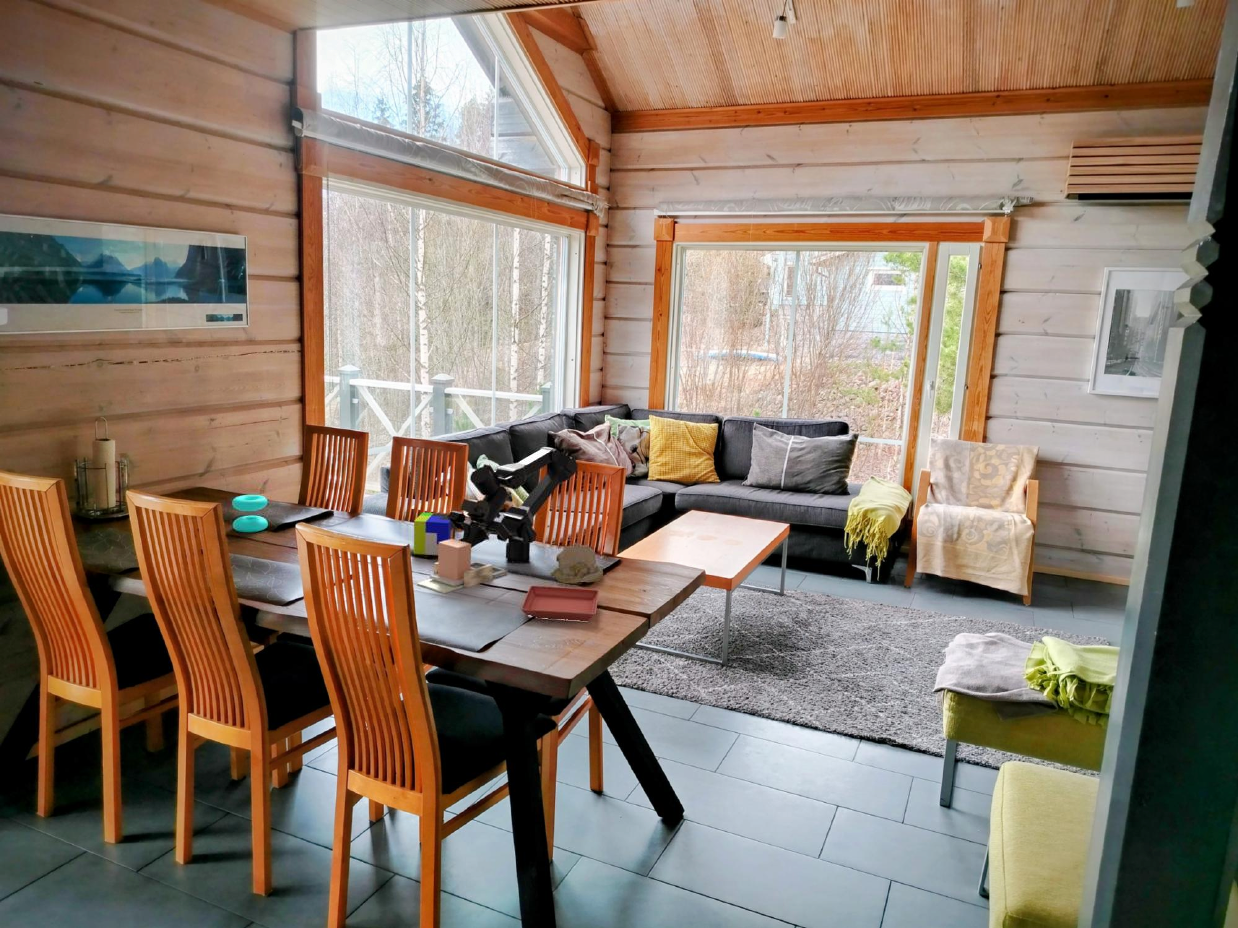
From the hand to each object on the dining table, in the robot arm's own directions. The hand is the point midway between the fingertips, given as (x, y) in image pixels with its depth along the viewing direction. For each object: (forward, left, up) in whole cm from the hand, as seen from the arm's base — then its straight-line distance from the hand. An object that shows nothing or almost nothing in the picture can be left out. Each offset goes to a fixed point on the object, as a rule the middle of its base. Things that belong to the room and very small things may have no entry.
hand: (462, 551), depth 235 cm
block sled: (+2, +2, -7) cm, 7 cm away
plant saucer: (-26, +22, -8) cm, 35 cm away
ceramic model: (-31, -4, -8) cm, 33 cm away
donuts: (+68, -43, -8) cm, 81 cm away
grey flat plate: (-6, -7, -8) cm, 12 cm away
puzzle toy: (+10, -26, -8) cm, 29 cm away
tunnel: (0, -1, -8) cm, 8 cm away
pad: (+5, +6, -8) cm, 11 cm away
